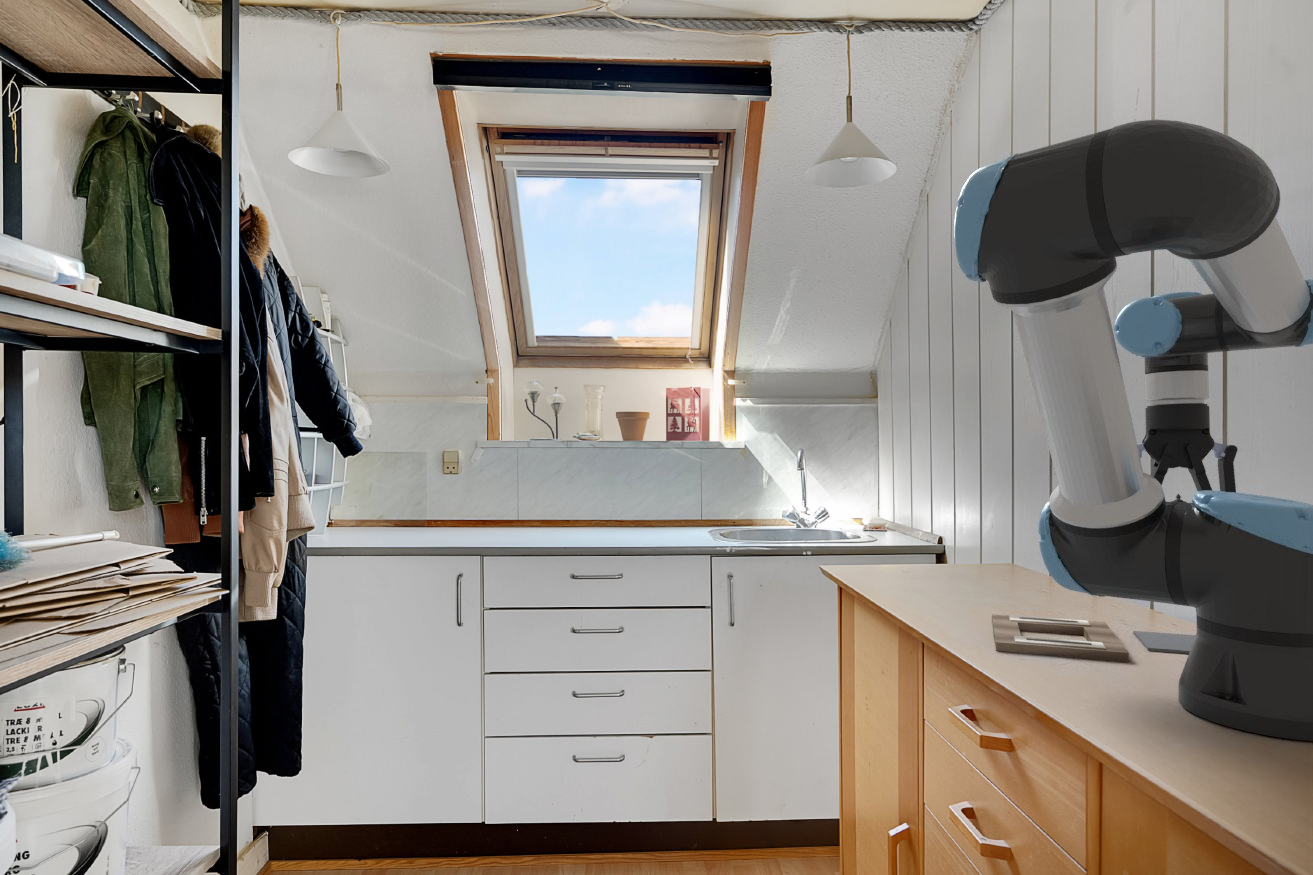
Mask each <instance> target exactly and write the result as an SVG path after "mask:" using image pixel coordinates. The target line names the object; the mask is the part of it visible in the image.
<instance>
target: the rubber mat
mask: <svg viewBox="0 0 1313 875" xmlns="http://www.w3.org/2000/svg"><path fill="white" fill-rule="evenodd" d="M1132 634H1133V635H1134V637H1136V639H1137V640H1138V641H1139V642H1140V643H1141V644H1142V646H1143V647H1144V648H1145V649H1146V650H1147V651H1150V652H1159V653H1160V652H1161V653H1173V654H1175V653H1176V654H1184V655H1185V654H1187V655H1189V653H1190V650H1191V648H1192V645H1193V643H1194V640H1195V637H1196V634H1195V635H1194V634H1186V633H1185V634H1183V633H1171V632H1170V633H1169V632H1168V633H1167V632H1155V631H1154V632H1153V631H1141V630H1133V631H1132Z"/></svg>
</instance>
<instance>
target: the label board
mask: <svg viewBox="0 0 1313 875" xmlns="http://www.w3.org/2000/svg"><path fill="white" fill-rule="evenodd" d="M991 624H992V633H993V639H994V646H995V651H996V652H1007V653H1008V652H1009V653H1021V654H1031V655H1044V656H1057V657H1067V658H1076V659H1077V658H1078V659H1087V660H1088V659H1089V660H1091V659H1092V660H1103V661H1114V662H1124V663H1125V662H1126V663H1129V662H1130V658H1129V657H1130V653H1129V651H1128V650H1127V649H1126V647H1125V646H1124V645H1123V643H1122V642H1121V641H1120V639H1119V638H1118V637H1117V636H1116V634H1115V633H1114V632H1113V631H1112V629H1111V628H1110V627H1109V625H1108V623H1107V622H1105V621H1093V620H1086V619H1085V620H1084V619H1069V618H1053V617H1041V616H1027V615H1025V616H1024V615H1014V614H1012V615H1011V614H1009V615H1006V614H991ZM1021 631H1026V632H1038V633H1039V632H1040V633H1051V634H1062V635H1063V634H1066V635H1078V636H1079V635H1080V636H1084V639H1086V640H1077V639H1076V640H1075V639H1065V638H1064V639H1062V638H1050V637H1037V636H1036V637H1035V636H1026V635H1025V636H1024V635H1023V636H1022V634H1021Z"/></svg>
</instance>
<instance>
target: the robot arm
mask: <svg viewBox="0 0 1313 875" xmlns="http://www.w3.org/2000/svg"><path fill="white" fill-rule="evenodd" d="M1280 206H1281V192H1280V188H1279V185H1278V183H1277V180H1276V178H1275V176H1274V173H1273V171H1272V169H1271V167H1270V166H1268V164H1267V163H1266V161H1265V160H1264V159H1262V157H1260V156H1259V155H1258V154H1257V152H1255V151H1254V150H1253V149H1252V148H1250V147H1248V146H1247V145H1245V144H1244V143H1242V142H1240V141H1239V140H1237V139H1235V138H1233V137H1232V136H1229V135H1227V134H1224V133H1223V132H1219V131H1218V130H1216V129H1215V130H1214V129H1211V128H1208V127H1205V126H1202V125H1199V124H1194V123H1189V122H1186V121H1181V120H1180V121H1179V120H1172V119H1171V120H1169V119H1168V120H1167V119H1157V118H1156V119H1148V120H1147V119H1145V120H1136V121H1131V122H1127V123H1124V124H1119V125H1115V126H1113V127H1112V128H1108V129H1105V130H1101V131H1098V132H1094V133H1091V134H1086V135H1084V136H1079V137H1076V138H1072V139H1069V140H1065V141H1061V142H1058V143H1054V144H1050V145H1045V146H1043V147H1040V148H1036V149H1033V150H1032V149H1031V150H1029V151H1025V152H1021V153H1014V154H1012V155H1010V156H1008V157H1006V158H1003V159H1000V160H998V161H995V162H992V163H989V164H987V165H985V166H981V167H980V168H978V169H976V170H975V171H974V172H973V173H972V174H971V175H970V176H969V177H968V178H967V180H966V181H965V183H964V185H963V186H962V189H961V191H960V193H959V196H958V199H957V203H956V208H955V214H954V221H953V224H954V225H953V239H954V240H953V241H954V250H955V254H956V259H957V263H958V266H959V267H960V268H959V269H960V270H961V272H962V273H963V274H964V275H965V278H967V279H968V280H970V281H973V282H978V283H983V282H988V285H989V288H990V292H991V296H992V300H993V302H994V303H996V304H997V305H999V306H1001V307H1003V308H1006V309H1008V310H1010V311H1012V314H1013V317H1014V321H1015V325H1016V329H1017V332H1018V333H1017V334H1018V337H1019V340H1020V344H1021V348H1022V350H1023V351H1022V352H1023V355H1024V356H1023V357H1024V358H1025V363H1026V366H1027V371H1028V374H1029V377H1030V382H1031V386H1032V389H1033V392H1034V396H1035V402H1036V405H1037V408H1038V412H1039V416H1040V419H1041V423H1042V427H1043V430H1044V435H1045V439H1046V443H1047V446H1048V449H1049V453H1050V458H1051V461H1052V465H1053V468H1054V469H1053V470H1054V473H1055V477H1056V480H1057V484H1058V485H1057V486H1056V487H1055V488H1054V490H1053V491H1052V492H1051V494H1050V496H1049V500H1048V501H1047V502H1046V503H1045V504H1044V506H1043V507H1042V509H1041V512H1040V516H1039V518H1038V534H1039V536H1040V540H1039V542H1038V544H1039V548H1040V549H1039V550H1040V554H1041V557H1042V560H1043V564H1044V566H1045V568H1046V570H1047V571H1048V573H1049V575H1050V577H1052V579H1053V580H1054V581H1055V583H1057V584H1059V585H1060V586H1061V587H1062V588H1064V589H1067V590H1069V591H1073V592H1078V593H1084V594H1087V595H1089V596H1094V597H1095V596H1098V597H1101V598H1104V597H1112V598H1119V599H1130V600H1137V601H1145V602H1153V603H1154V602H1155V603H1162V604H1168V605H1176V606H1177V605H1178V606H1184V607H1192V608H1195V613H1196V616H1195V617H1196V634H1195V635H1196V637H1195V640H1194V643H1193V645H1192V648H1191V650H1190V653H1189V654H1187V655H1188V656H1187V658H1186V661H1185V663H1184V665H1183V669H1182V671H1181V674H1180V677H1179V680H1178V702H1179V704H1180V705H1181V706H1182V707H1183V708H1184V710H1185V709H1186V710H1187V711H1189V712H1190V713H1192V714H1194V715H1195V716H1198V717H1200V718H1203V719H1205V720H1208V721H1211V722H1213V723H1215V724H1218V725H1219V724H1220V725H1223V726H1226V727H1229V728H1232V729H1237V730H1240V731H1245V732H1249V733H1254V734H1259V735H1264V736H1268V737H1269V736H1270V737H1274V738H1275V737H1276V738H1281V739H1290V740H1296V741H1297V740H1299V741H1308V742H1309V741H1311V742H1313V504H1310V503H1306V502H1302V501H1297V500H1292V499H1287V498H1280V497H1275V496H1273V497H1272V496H1268V495H1267V496H1266V495H1258V494H1253V493H1252V494H1250V493H1244V492H1237V487H1236V486H1237V485H1236V476H1235V465H1234V462H1235V459H1236V456H1237V453H1238V447H1237V446H1236V445H1235V444H1224V443H1220V442H1217V441H1215V440H1214V438H1213V436H1212V434H1211V426H1210V424H1211V422H1210V416H1211V415H1210V406H1209V405H1208V403H1205V400H1209V398H1210V382H1209V381H1210V380H1209V377H1210V376H1209V354H1211V353H1222V352H1235V351H1237V352H1238V351H1247V350H1260V349H1261V350H1262V349H1274V348H1275V349H1277V348H1288V347H1295V348H1300V347H1304V346H1306V345H1307V346H1308V345H1313V279H1305V278H1304V275H1303V273H1302V270H1301V269H1300V267H1299V264H1298V262H1297V260H1296V258H1295V256H1294V253H1293V251H1292V249H1291V248H1290V244H1289V243H1288V240H1287V238H1286V237H1285V234H1284V232H1283V230H1282V228H1281V225H1280V223H1279V222H1278V219H1277V215H1278V214H1279V210H1280ZM1158 250H1159V251H1163V250H1166V251H1168V252H1169V253H1170V254H1172V255H1174V256H1176V257H1178V258H1182V259H1184V260H1189V262H1190V263H1191V264H1192V266H1193V268H1194V269H1195V270H1196V272H1197V273H1198V274H1199V276H1200V277H1201V278H1202V279H1203V281H1204V282H1205V284H1206V285H1207V287H1208V288H1209V290H1211V292H1212V293H1207V294H1205V293H1204V294H1202V293H1201V292H1196V291H1178V292H1169V293H1163V294H1157V295H1154V296H1151V297H1142V298H1139V299H1136V300H1133V301H1131V302H1130V303H1128V304H1126V305H1125V306H1124V307H1123V308H1122V309H1121V311H1120V312H1119V313H1118V314H1117V317H1116V319H1115V321H1114V327H1113V326H1112V321H1111V316H1110V312H1109V309H1108V308H1109V307H1108V302H1107V298H1106V293H1105V289H1104V287H1105V286H1106V284H1107V283H1108V282H1109V280H1110V279H1111V278H1112V277H1113V275H1114V274H1115V273H1116V271H1117V269H1118V264H1117V257H1118V258H1119V257H1123V256H1128V255H1132V254H1138V253H1143V252H1152V251H1158ZM1113 328H1114V329H1113ZM1115 339H1116V340H1115ZM1116 341H1117V342H1118V344H1119V345H1120V346H1121V347H1122V348H1123V349H1124V350H1126V351H1128V352H1129V353H1130V354H1132V355H1135V356H1136V357H1140V358H1144V383H1145V384H1144V389H1145V390H1144V399H1145V401H1146V402H1147V403H1149V402H1150V404H1149V405H1147V406H1146V407H1145V409H1144V410H1145V435H1144V438H1143V439H1142V441H1141V442H1140V443H1138V442H1137V439H1136V437H1137V436H1136V434H1135V428H1134V424H1133V418H1132V414H1131V409H1130V405H1129V400H1128V396H1127V390H1126V386H1125V382H1124V377H1123V372H1122V368H1121V364H1120V363H1121V362H1120V358H1119V353H1118V348H1117V343H1116ZM1211 450H1212V451H1213V453H1214V455H1213V456H1214V458H1216V459H1217V472H1218V482H1219V484H1218V485H1219V490H1213V489H1212V486H1211V484H1210V481H1209V477H1208V476H1207V473H1206V472H1207V471H1206V468H1205V466H1204V462H1203V460H1204V459H1205V458H1206V457H1207V456H1208V454H1209V453H1210V452H1211ZM1144 451H1145V452H1146V453H1147V455H1149V456H1150V458H1152V460H1153V465H1152V468H1151V472H1150V474H1149V473H1147V472H1144V471H1143V465H1142V462H1141V458H1142V456H1143V452H1144ZM1176 468H1183V469H1187V470H1188V472H1189V474H1190V476H1191V478H1192V480H1193V483H1194V485H1195V488H1196V492H1195V493H1194V496H1193V497H1192V498H1191V502H1187V503H1181V502H1171V501H1166V496H1165V492H1164V488H1163V486H1162V485H1163V483H1164V479H1165V477H1166V475H1167V473H1168V471H1169V469H1176Z"/></svg>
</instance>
